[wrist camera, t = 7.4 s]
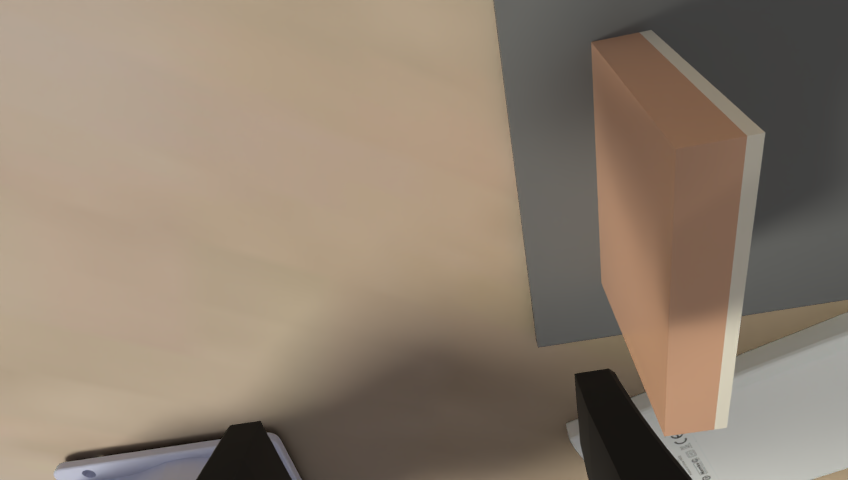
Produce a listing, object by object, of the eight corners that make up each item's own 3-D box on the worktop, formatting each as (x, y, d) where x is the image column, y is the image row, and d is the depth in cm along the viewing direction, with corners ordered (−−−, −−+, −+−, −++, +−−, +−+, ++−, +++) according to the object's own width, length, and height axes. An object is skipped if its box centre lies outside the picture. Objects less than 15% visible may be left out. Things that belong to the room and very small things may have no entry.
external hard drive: (914, 410, 26) (633, 506, 29) (883, 282, 22) (561, 412, 25) (942, 443, 24) (644, 540, 28) (914, 313, 20) (570, 446, 24)
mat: (536, 339, 22) (538, 347, 22) (484, -72, 14) (486, -69, 14) (842, 291, 21) (849, 299, 21) (960, -176, 13) (974, -176, 13)
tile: (601, 283, 20) (664, 436, 15) (590, 42, 16) (675, 148, 11) (648, 275, 20) (726, 427, 15) (651, 30, 15) (765, 132, 11)
